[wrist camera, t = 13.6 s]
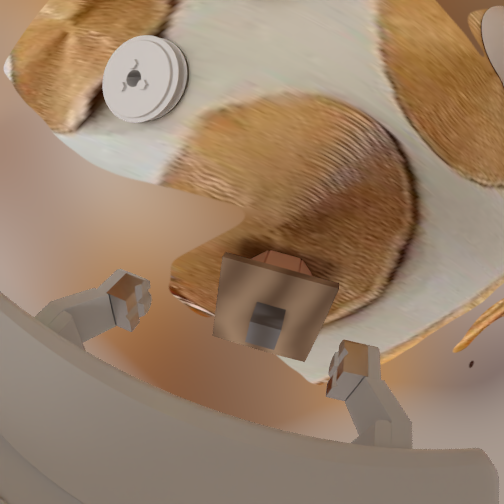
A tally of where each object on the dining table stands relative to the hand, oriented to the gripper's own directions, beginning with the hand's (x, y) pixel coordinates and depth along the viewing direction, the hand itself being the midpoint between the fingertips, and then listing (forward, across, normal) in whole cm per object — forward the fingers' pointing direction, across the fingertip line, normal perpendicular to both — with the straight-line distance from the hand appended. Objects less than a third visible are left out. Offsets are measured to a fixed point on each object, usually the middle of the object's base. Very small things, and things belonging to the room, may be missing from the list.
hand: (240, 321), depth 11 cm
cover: (+22, 0, +20) cm, 30 cm away
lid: (+29, +24, -8) cm, 38 cm away
